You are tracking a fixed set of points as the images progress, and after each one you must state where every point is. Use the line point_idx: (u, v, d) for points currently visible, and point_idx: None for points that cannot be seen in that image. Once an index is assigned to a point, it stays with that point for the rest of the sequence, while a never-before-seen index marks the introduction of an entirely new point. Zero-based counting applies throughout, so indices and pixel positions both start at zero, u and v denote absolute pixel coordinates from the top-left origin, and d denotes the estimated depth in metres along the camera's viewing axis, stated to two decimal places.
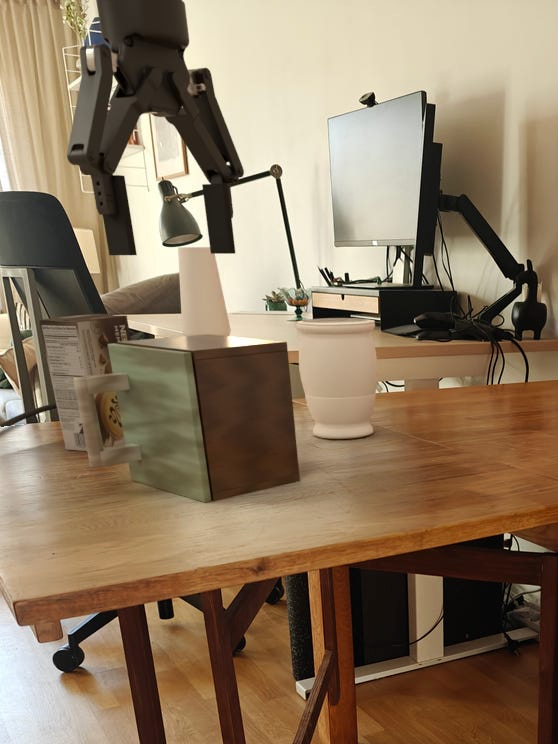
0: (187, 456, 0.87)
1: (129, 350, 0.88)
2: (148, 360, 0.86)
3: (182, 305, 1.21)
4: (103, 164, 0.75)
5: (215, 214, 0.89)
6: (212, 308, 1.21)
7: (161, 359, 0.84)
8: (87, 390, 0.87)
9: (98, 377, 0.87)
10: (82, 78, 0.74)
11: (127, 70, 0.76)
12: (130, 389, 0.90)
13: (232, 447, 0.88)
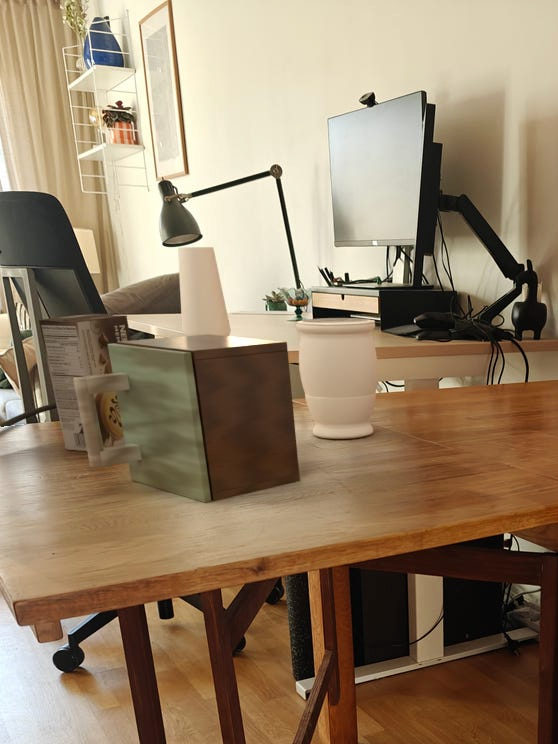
0: (187, 456, 0.87)
1: (129, 350, 0.88)
2: (148, 360, 0.86)
3: (182, 305, 1.21)
4: None
5: None
6: (212, 308, 1.21)
7: (161, 359, 0.84)
8: (87, 390, 0.87)
9: (98, 377, 0.87)
10: None
11: None
12: (130, 389, 0.90)
13: (232, 447, 0.88)
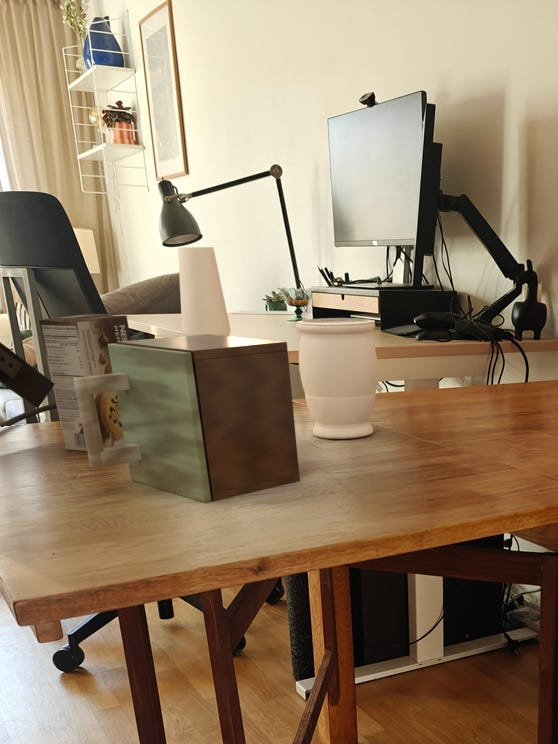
0: (187, 456, 0.87)
1: (129, 350, 0.88)
2: (148, 360, 0.86)
3: (182, 305, 1.21)
4: None
5: None
6: (212, 308, 1.21)
7: (161, 359, 0.84)
8: (87, 390, 0.87)
9: (98, 377, 0.87)
10: None
11: None
12: (130, 389, 0.90)
13: (232, 447, 0.88)
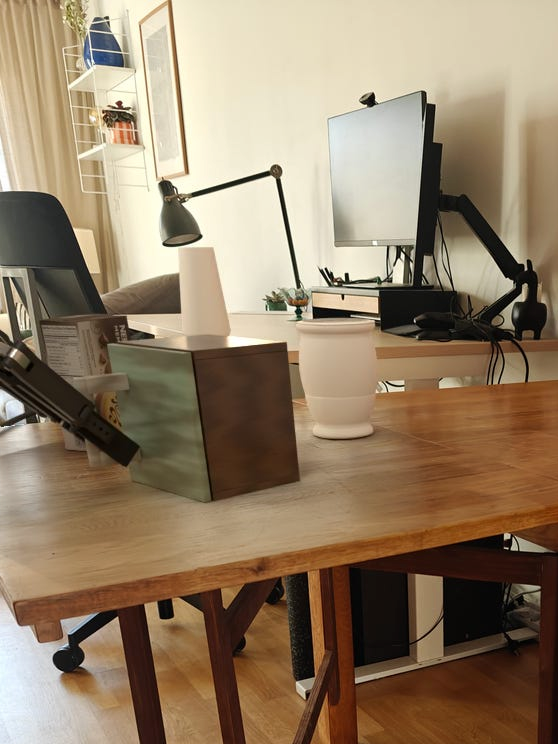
0: (187, 456, 0.87)
1: (128, 350, 0.88)
2: (148, 360, 0.86)
3: (182, 305, 1.21)
4: None
5: None
6: (212, 308, 1.21)
7: (161, 359, 0.84)
8: (86, 390, 0.87)
9: (98, 377, 0.87)
10: None
11: None
12: (130, 389, 0.90)
13: (232, 447, 0.88)
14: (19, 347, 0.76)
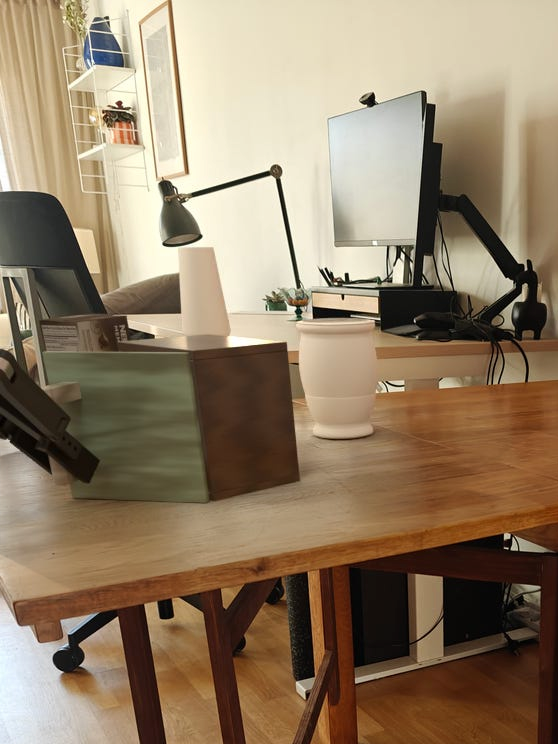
0: (181, 459, 0.86)
1: (85, 356, 0.83)
2: (121, 364, 0.83)
3: (182, 305, 1.21)
4: None
5: None
6: (212, 308, 1.21)
7: (145, 362, 0.82)
8: None
9: (59, 387, 0.81)
10: None
11: None
12: (82, 398, 0.85)
13: (232, 447, 0.88)
14: (5, 356, 0.69)
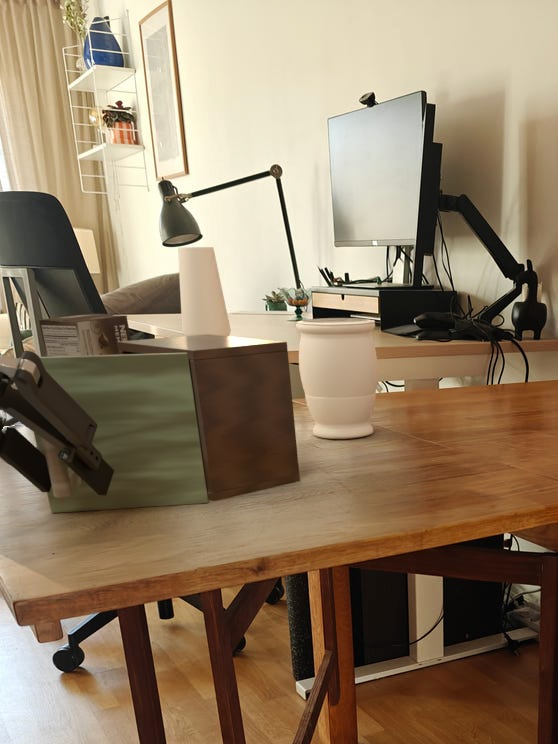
0: (180, 460, 0.85)
1: (70, 361, 0.79)
2: (113, 368, 0.80)
3: (182, 305, 1.21)
4: None
5: None
6: (212, 308, 1.21)
7: (142, 364, 0.81)
8: None
9: None
10: None
11: None
12: None
13: (232, 447, 0.88)
14: (31, 358, 0.65)
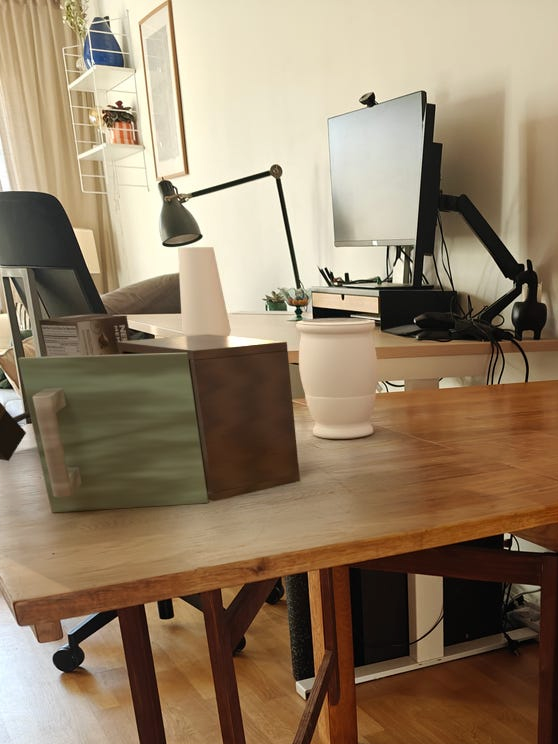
0: (180, 460, 0.85)
1: (71, 360, 0.79)
2: (113, 368, 0.81)
3: (182, 305, 1.21)
4: None
5: None
6: (212, 308, 1.21)
7: (142, 364, 0.81)
8: (54, 409, 0.77)
9: (54, 393, 0.77)
10: None
11: None
12: (67, 405, 0.81)
13: (232, 447, 0.88)
14: None
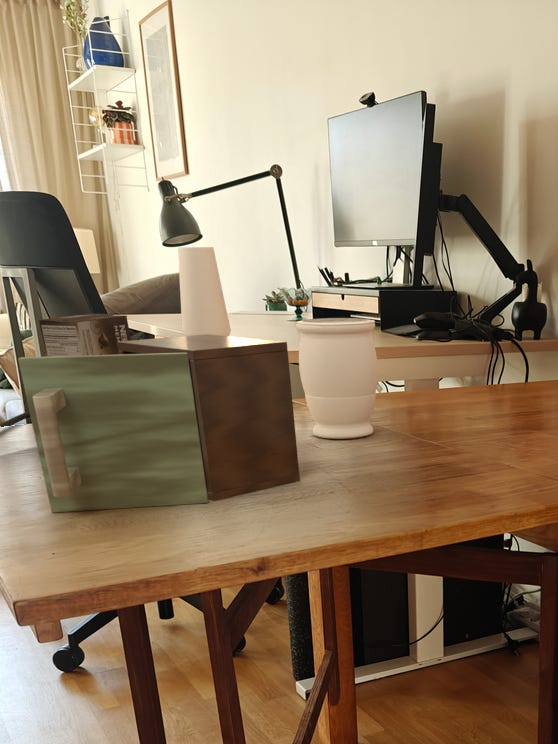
0: (180, 460, 0.85)
1: (71, 360, 0.79)
2: (113, 368, 0.81)
3: (182, 305, 1.21)
4: None
5: None
6: (212, 308, 1.21)
7: (142, 364, 0.81)
8: (54, 409, 0.77)
9: (54, 393, 0.77)
10: None
11: None
12: (67, 405, 0.81)
13: (232, 447, 0.88)
14: None
